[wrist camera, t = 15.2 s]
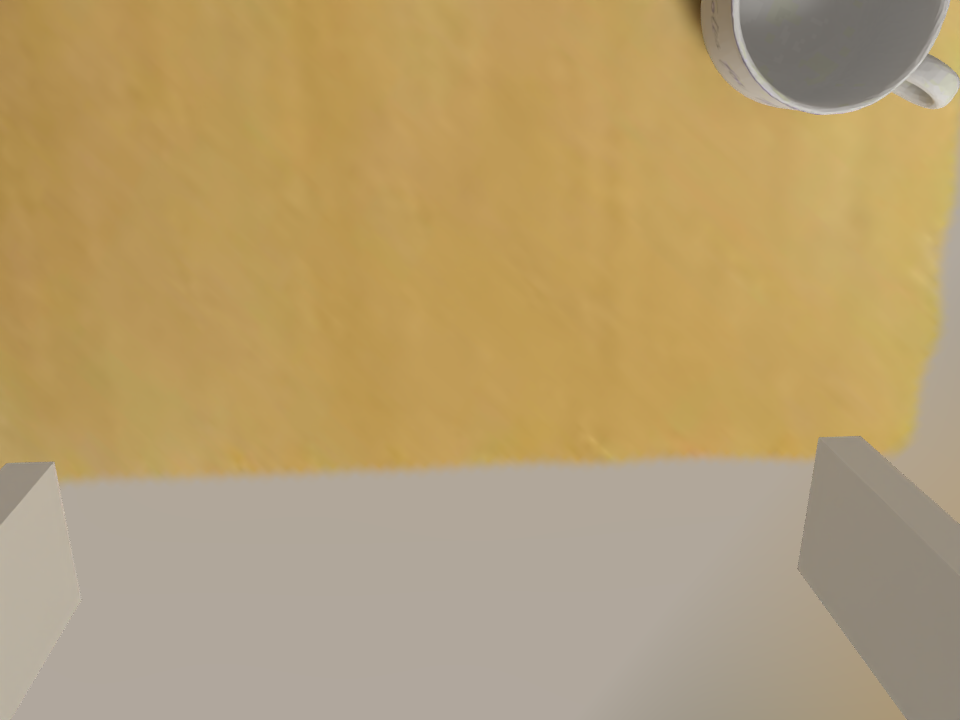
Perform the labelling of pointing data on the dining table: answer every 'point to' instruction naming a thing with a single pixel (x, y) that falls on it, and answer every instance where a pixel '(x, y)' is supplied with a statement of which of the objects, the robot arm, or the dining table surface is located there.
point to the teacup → (829, 52)
